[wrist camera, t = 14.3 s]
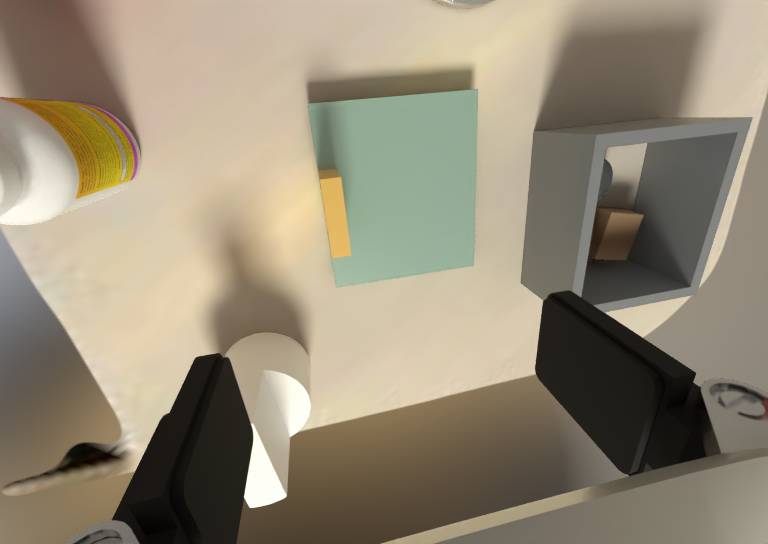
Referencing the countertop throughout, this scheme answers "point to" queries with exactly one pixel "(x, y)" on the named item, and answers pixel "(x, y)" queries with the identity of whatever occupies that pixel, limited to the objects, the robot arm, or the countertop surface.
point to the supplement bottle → (60, 158)
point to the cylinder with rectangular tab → (271, 407)
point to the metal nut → (605, 179)
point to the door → (397, 183)
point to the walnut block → (613, 233)
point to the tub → (654, 200)
